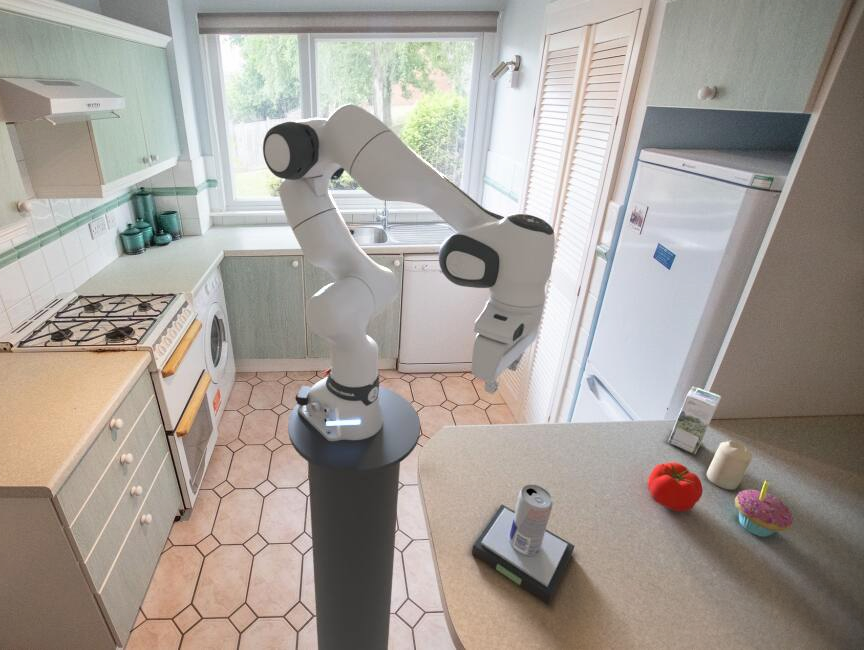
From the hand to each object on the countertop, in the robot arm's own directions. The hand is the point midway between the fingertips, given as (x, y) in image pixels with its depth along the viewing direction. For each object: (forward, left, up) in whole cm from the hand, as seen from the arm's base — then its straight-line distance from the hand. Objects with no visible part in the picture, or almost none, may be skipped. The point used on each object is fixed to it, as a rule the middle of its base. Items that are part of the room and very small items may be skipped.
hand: (502, 379), depth 83 cm
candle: (+38, +38, -29) cm, 61 cm away
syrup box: (+30, +46, -29) cm, 62 cm away
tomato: (+30, +24, -29) cm, 48 cm away
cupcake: (+44, +28, -29) cm, 60 cm away
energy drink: (+12, -8, -26) cm, 30 cm away
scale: (+12, -8, -29) cm, 32 cm away
